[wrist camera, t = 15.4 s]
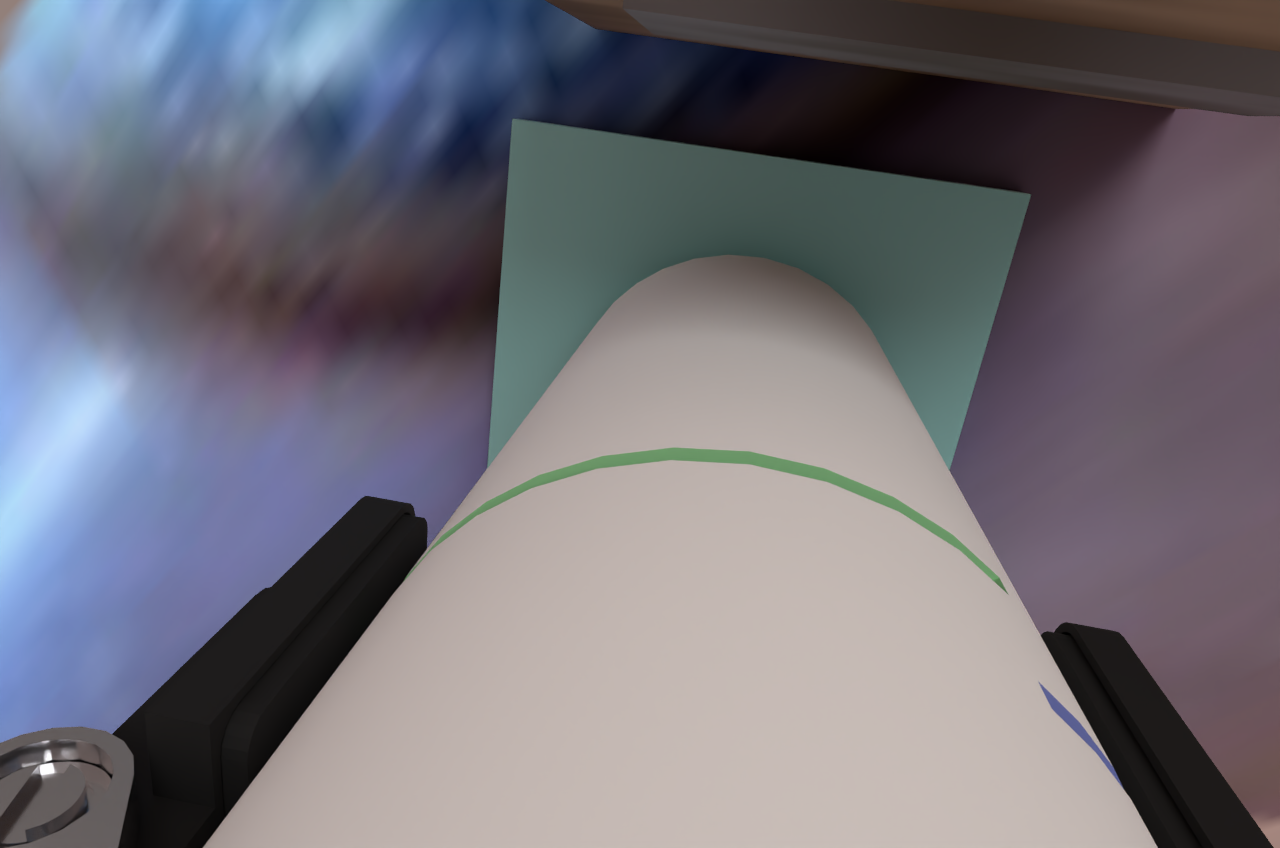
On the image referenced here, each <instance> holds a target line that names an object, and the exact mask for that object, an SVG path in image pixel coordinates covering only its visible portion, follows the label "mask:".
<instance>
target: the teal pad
mask: <svg viewBox="0 0 1280 848" xmlns="http://www.w3.org/2000/svg"><path fill="white" fill-rule="evenodd" d="M1030 197H1031V194H1028V193H1024V192H1020V191H1013V190H1006V189H999V188H992V187H985V186H978V185H972V184H965V183H958V182H951V181H944V180H937V179H930V178H923V177H917V176H910V175H903V174H896V173H889V172H882V171H875V170H869V169H862V168H855V167H848V166H841V165H834V164H827V163H821V162H814V161H807V160H800V159H793V158H786V157H779V156H773V155H766V154H759V153H752V152H745V151H738V150H731V149H724V148H718V147H711V146H704V145H697V144H690V143H683V142H676V141H670V140H663V139H656V138H649V137H642V136H635V135H628V134H622V133H615V132H608V131H601V130H594V129H587V128H580V127H574V126H567V125H560V124H553V123H546V122H539V121H532V120H525V119H512V130H511V144H510V158H509V172H508V186H507V200H506V213H505V227H504V241H503V255H502V269H501V283H500V297H499V311H498V325H497V339H496V353H495V367H494V381H493V395H492V409H491V423H490V437H489V451H488V465H487V468H488V467H489V466H490V464H491V463H492V462H493V460H494V459H495V458H496V456H497V455H498V454H499V452H500V451H501V450H502V448H503V447H504V446H505V444H506V443H507V442H508V440H509V439H510V438H511V436H512V435H513V434H514V432H515V431H516V430H517V429H518V427H519V426H520V425H521V423H522V422H523V421H524V419H525V418H526V417H527V415H528V414H529V413H530V411H531V410H532V409H533V407H534V406H535V405H536V403H537V402H538V401H539V399H540V398H541V397H542V395H543V394H544V393H545V391H546V390H547V389H548V387H549V386H550V385H551V383H552V382H553V381H554V379H555V378H556V377H557V375H558V374H559V373H560V371H561V370H562V369H563V367H564V366H565V365H566V363H567V362H568V361H569V359H570V358H571V357H572V355H573V354H574V353H575V351H576V350H577V349H578V347H579V346H580V345H581V343H582V342H583V341H584V339H585V338H586V337H587V335H588V334H589V333H590V331H591V330H592V329H593V327H594V326H595V325H596V324H597V322H598V321H599V320H600V319H601V317H602V316H603V315H604V314H605V313H606V311H607V310H608V309H609V308H610V306H611V305H612V304H613V303H614V302H615V301H616V300H617V299H618V298H620V297H621V296H622V295H623V294H624V293H626V292H627V291H628V290H629V289H630V288H632V287H633V286H634V285H635V284H636V283H638V282H640V281H642V280H644V279H645V278H647V277H649V276H651V275H653V274H655V273H656V272H658V271H660V270H662V269H664V268H667V267H670V266H673V265H676V264H679V263H682V262H685V261H689V260H692V259H695V258H704V257H713V256H721V255H738V256H749V257H761V258H766V259H770V260H773V261H776V262H779V263H783V264H786V265H789V266H792V267H796V268H799V269H800V270H802V271H804V272H806V273H808V274H809V275H811V276H813V277H815V278H817V279H818V280H820V281H822V282H824V283H826V284H827V285H829V286H830V287H831V288H832V289H834V290H835V291H836V292H837V293H838V294H839V295H841V296H842V297H843V298H844V299H845V300H846V301H847V302H849V303H850V304H851V305H852V306H853V307H854V308H855V309H856V311H857V312H858V313H859V315H860V316H861V317H862V319H863V320H864V321H865V322H866V324H867V325H868V326H869V328H870V329H871V330H872V332H873V334H874V336H875V337H876V339H877V341H878V343H879V345H880V346H881V348H882V350H883V352H884V354H885V355H886V357H887V359H888V361H889V363H890V365H891V366H892V368H893V370H894V372H895V374H896V375H897V377H898V379H899V381H900V383H901V384H902V386H903V388H904V390H905V392H906V393H907V395H908V397H909V399H910V401H911V402H912V404H913V406H914V408H915V410H916V412H917V413H918V415H919V417H920V419H921V421H922V422H923V424H924V426H925V428H926V430H927V431H928V433H929V435H930V437H931V439H932V440H933V442H934V444H935V446H936V448H937V449H938V451H939V453H940V455H941V457H942V459H943V460H944V462H945V464H946V466H947V468H948V469H949V470H950V467H951V463H952V460H953V457H954V453H955V450H956V447H957V443H958V440H959V436H960V433H961V430H962V426H963V423H964V420H965V416H966V413H967V409H968V406H969V403H970V399H971V396H972V393H973V389H974V386H975V382H976V379H977V376H978V372H979V369H980V366H981V362H982V359H983V355H984V352H985V349H986V345H987V342H988V339H989V335H990V332H991V328H992V325H993V322H994V318H995V315H996V312H997V308H998V305H999V302H1000V298H1001V295H1002V291H1003V288H1004V285H1005V281H1006V278H1007V275H1008V271H1009V268H1010V264H1011V261H1012V258H1013V254H1014V251H1015V248H1016V244H1017V241H1018V237H1019V234H1020V231H1021V227H1022V224H1023V221H1024V217H1025V214H1026V210H1027V207H1028V204H1029V200H1030Z"/></svg>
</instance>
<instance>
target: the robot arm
mask: <svg viewBox="0 0 1280 848" xmlns="http://www.w3.org/2000/svg"><path fill="white" fill-rule="evenodd" d="M426 550H427V522H426V520H425V518H421V517H416V516H415V512H414V508H413V506H412V505H411V504H409V503H404V502H398V501H393V500H387V499H382V498H376V497H371V496H365V497H363V498H362V499H360V500H359V501H358V502H357V503H356V504H355V505H354V506H353V507H352V508H351V509H350V510H349V511H348V512H347V513H346V514H345V515H344V516H343V517H342V518H341V519H340V520H339V521H338V522H337V523H336V524H335V525H334V526H333V527H332V528H331V529H330V530H329V531H328V532H327V533H326V534H325V535H324V536H323V537H322V538H321V539H320V540H319V541H318V542H317V543H316V544H315V545H314V546H313V547H312V548H310V549H309V550H308V551H307V552H306V553H305V554H304V555H303V556H302V557H301V558H300V559H299V560H298V561H297V562H296V563H295V564H294V565H293V566H292V567H291V568H290V569H289V570H288V571H287V572H286V573H285V574H284V575H283V576H282V577H281V578H280V579H279V580H278V581H277V582H276V583H275V584H274V585H273V586H272V587H270V588H265V589H263V590H262V591H261V592H259V593H258V594H257V595H255V596H254V597H253V598H252V599H251V600H250V601H249V602H248V603H247V604H246V605H245V606H244V607H243V608H242V609H241V610H240V611H239V612H238V613H237V614H236V615H235V616H234V617H233V618H232V619H230V620H229V621H228V622H227V623H226V624H225V625H224V626H223V627H222V628H221V629H220V630H219V631H218V632H217V633H216V634H215V635H214V636H213V637H212V638H211V639H210V640H209V641H208V642H207V643H206V644H205V645H204V646H203V647H202V648H201V649H200V650H199V651H198V652H196V653H195V654H194V655H193V656H192V657H191V658H190V659H189V660H188V661H187V662H186V663H185V664H184V665H183V666H182V667H181V668H180V669H179V670H178V671H177V672H176V673H175V674H174V675H173V676H172V677H171V678H170V679H169V680H168V681H167V682H166V683H165V684H163V685H162V686H161V687H160V688H159V689H158V690H157V691H156V692H155V693H154V694H153V695H152V696H151V697H150V698H149V699H148V700H147V701H146V702H145V703H144V704H143V705H142V706H141V707H140V708H139V709H138V710H137V711H136V712H135V713H134V714H133V715H132V716H130V717H129V718H128V719H127V720H126V721H125V722H124V723H123V724H122V725H121V726H120V727H119V728H118V729H117V730H116V731H115V732H114V733H113V734H110V733H108V732H107V731H102V730H97V729H91V728H86V727H65V728H51V729H46V730H42V731H37V732H32V733H28V734H23V735H20V736H17V737H15V738H12V739H10V740H7V741H4V742H2V743H0V848H203V847H204V846H205V844H206V843H207V841H208V840H209V839H210V838H211V836H212V835H213V833H214V832H215V831H216V829H217V828H218V827H219V825H220V824H221V823H222V821H223V820H224V819H225V817H226V816H227V815H228V813H229V812H230V811H231V809H232V808H233V807H234V805H235V804H236V803H237V801H238V800H239V799H240V797H241V796H242V795H243V793H244V792H245V791H246V789H247V788H248V787H249V785H250V784H251V783H252V781H253V780H254V779H255V777H256V776H257V775H258V773H259V772H260V771H261V769H262V768H263V767H264V765H265V764H266V763H267V761H268V760H269V759H270V757H271V756H272V755H273V753H274V752H275V751H276V749H277V748H278V747H279V745H280V744H281V743H282V741H283V740H284V739H285V737H286V736H287V735H288V733H289V732H290V731H291V729H292V728H293V727H294V725H295V724H296V723H297V721H298V720H299V719H300V717H301V716H302V715H303V713H304V712H305V711H306V709H307V708H308V707H309V705H310V704H311V703H312V701H313V700H314V699H315V697H316V696H317V695H318V693H319V692H320V691H321V689H322V688H323V687H324V685H325V684H326V683H327V681H328V680H329V679H330V677H331V676H332V675H333V673H334V672H335V671H336V669H337V668H338V667H339V665H340V664H341V663H342V661H343V660H344V659H345V657H346V656H347V655H348V653H349V652H350V651H351V649H352V648H353V647H354V645H355V644H356V643H357V641H358V640H359V639H360V637H361V636H362V635H363V633H364V632H365V631H366V629H367V628H368V627H369V625H370V624H371V623H372V621H373V620H374V619H375V617H376V616H377V615H378V613H379V612H380V611H381V609H382V608H383V607H384V605H385V604H386V603H387V601H388V600H389V599H390V597H391V596H392V595H393V593H394V592H395V591H396V590H397V589H398V588H399V586H400V585H401V584H402V583H403V581H404V580H405V578H406V576H407V575H408V573H409V572H410V571H411V569H412V568H413V567H414V565H415V564H416V563H417V561H418V560H419V559H420V558H421V556H422V555H423V554H424V552H425V551H426ZM1041 638H1042V639H1043V641H1044V643H1045V645H1046V647H1047V648H1048V650H1049V652H1050V654H1051V656H1052V657H1053V659H1054V661H1055V663H1056V665H1057V666H1058V668H1059V670H1060V672H1061V674H1062V675H1063V677H1064V679H1065V681H1066V683H1067V685H1068V686H1069V688H1070V690H1071V692H1072V694H1073V695H1074V697H1075V699H1076V701H1077V703H1078V704H1079V706H1080V708H1081V710H1082V712H1083V713H1084V715H1085V717H1086V719H1087V721H1088V722H1089V724H1090V726H1091V728H1092V730H1093V732H1094V733H1095V735H1096V737H1097V739H1098V741H1099V742H1100V744H1101V746H1102V748H1103V750H1104V751H1105V753H1106V755H1107V757H1108V759H1109V760H1110V762H1111V764H1112V766H1113V768H1114V770H1115V772H1116V774H1117V776H1118V778H1119V780H1120V782H1121V784H1122V786H1123V788H1124V791H1125V792H1126V793H1127V795H1128V796H1129V797H1130V799H1131V800H1132V802H1133V804H1134V806H1135V807H1136V809H1137V811H1138V813H1139V815H1140V816H1141V818H1142V820H1143V822H1144V824H1145V826H1146V827H1147V829H1148V831H1149V833H1150V835H1151V836H1152V838H1153V840H1154V842H1155V844H1156V845H1157V847H1158V848H1273V846H1272V845H1271V843H1270V842H1269V841H1268V839H1267V838H1266V836H1265V835H1264V834H1263V832H1262V831H1261V829H1260V828H1259V827H1258V825H1257V824H1256V822H1255V821H1254V820H1253V818H1252V817H1251V815H1250V814H1249V812H1248V811H1247V810H1246V808H1245V807H1244V805H1243V804H1242V803H1241V801H1240V800H1239V798H1238V797H1237V796H1236V794H1235V793H1234V791H1233V790H1232V789H1231V787H1230V786H1229V784H1228V783H1227V782H1226V780H1225V779H1224V777H1223V776H1222V775H1221V773H1220V772H1219V770H1218V769H1217V768H1216V766H1215V765H1214V763H1213V762H1212V761H1211V759H1210V758H1209V756H1208V755H1207V754H1206V752H1205V751H1204V749H1203V748H1202V746H1201V745H1200V744H1199V742H1198V741H1197V739H1196V738H1195V737H1194V735H1193V734H1192V732H1191V731H1190V730H1189V728H1188V727H1187V725H1186V724H1185V723H1184V721H1183V720H1182V718H1181V717H1180V716H1179V714H1178V713H1177V711H1176V710H1175V709H1174V707H1173V706H1172V704H1171V703H1170V702H1169V700H1168V699H1167V697H1166V696H1165V695H1164V693H1163V692H1162V690H1161V689H1160V688H1159V686H1158V685H1157V683H1156V682H1155V680H1154V679H1153V678H1152V676H1151V675H1150V673H1149V672H1148V671H1147V669H1146V668H1145V666H1144V665H1143V664H1142V662H1141V661H1140V659H1139V658H1138V657H1137V655H1136V654H1135V652H1134V651H1133V650H1132V648H1131V647H1130V645H1129V644H1128V643H1127V641H1126V640H1125V638H1124V637H1123V636H1122V635H1121V634H1120V633H1119V632H1115V631H1111V630H1106V629H1100V628H1095V627H1089V626H1084V625H1078V624H1073V623H1067V622H1065V623H1063V624H1061V625H1060V626H1059V627H1058V628H1057V629H1056V630H1055V632H1054V633H1053V632H1048V631H1047V632H1044V633H1043V634H1042V635H1041Z"/></svg>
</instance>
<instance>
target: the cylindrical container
mask: <svg viewBox="0 0 1280 848" xmlns="http://www.w3.org/2000/svg"><path fill="white" fill-rule="evenodd" d="M203 848H1158V847H1157V845H1156V844H1155V842H1154V840H1153V838H1152V836H1151V835H1150V833H1149V831H1148V829H1147V827H1146V826H1145V824H1144V822H1143V820H1142V818H1141V816H1140V815H1139V813H1138V811H1137V809H1136V807H1135V806H1134V804H1133V802H1132V800H1131V799H1130V797H1129V796H1128V795H1127V793H1126V792H1125V791H1124V788H1123V786H1122V784H1121V782H1120V780H1119V778H1118V776H1117V774H1116V772H1115V770H1114V768H1113V766H1112V764H1111V762H1110V760H1109V759H1108V757H1107V755H1106V753H1105V751H1104V750H1103V748H1102V746H1101V744H1100V742H1099V741H1098V739H1097V737H1096V735H1095V733H1094V732H1093V730H1092V728H1091V726H1090V724H1089V722H1088V721H1087V719H1086V717H1085V715H1084V713H1083V712H1082V710H1081V708H1080V706H1079V704H1078V703H1077V701H1076V699H1075V697H1074V695H1073V694H1072V692H1071V690H1070V688H1069V686H1068V685H1067V683H1066V681H1065V679H1064V677H1063V675H1062V674H1061V672H1060V670H1059V668H1058V666H1057V665H1056V663H1055V661H1054V659H1053V657H1052V656H1051V654H1050V652H1049V650H1048V648H1047V647H1046V645H1045V643H1044V641H1043V639H1042V638H1041V636H1040V634H1039V632H1038V630H1037V628H1036V627H1035V625H1034V623H1033V621H1032V619H1031V618H1030V616H1029V614H1028V612H1027V610H1026V609H1025V607H1024V605H1023V603H1022V601H1021V600H1020V598H1019V596H1018V594H1017V592H1016V591H1015V589H1014V587H1013V585H1012V583H1011V581H1010V580H1009V578H1008V576H1007V574H1006V572H1005V571H1004V569H1003V567H1002V565H1001V563H1000V562H999V560H998V558H997V556H996V554H995V553H994V551H993V549H992V547H991V545H990V544H989V542H988V540H987V538H986V536H985V534H984V533H983V531H982V529H981V527H980V525H979V524H978V522H977V520H976V518H975V516H974V515H973V513H972V511H971V509H970V507H969V506H968V504H967V502H966V500H965V498H964V496H963V495H962V493H961V491H960V489H959V487H958V486H957V484H956V482H955V480H954V478H953V477H952V475H951V473H950V471H949V469H948V468H947V466H946V464H945V462H944V460H943V459H942V457H941V455H940V453H939V451H938V449H937V448H936V446H935V444H934V442H933V440H932V439H931V437H930V435H929V433H928V431H927V430H926V428H925V426H924V424H923V422H922V421H921V419H920V417H919V415H918V413H917V412H916V410H915V408H914V406H913V404H912V402H911V401H910V399H909V397H908V395H907V393H906V392H905V390H904V388H903V386H902V384H901V383H900V381H899V379H898V377H897V375H896V374H895V372H894V370H893V368H892V366H891V365H890V363H889V361H888V359H887V357H886V355H885V354H884V352H883V350H882V348H881V346H880V345H879V343H878V341H877V339H876V337H875V336H874V334H873V332H872V330H871V329H870V328H869V326H868V325H867V324H866V322H865V321H864V320H863V319H862V317H861V316H860V315H859V313H858V312H857V311H856V309H855V308H854V307H853V306H852V305H851V304H850V303H849V302H847V301H846V300H845V299H844V298H843V297H842V296H841V295H839V294H838V293H837V292H836V291H835V290H834V289H832V288H831V287H830V286H829V285H827V284H826V283H824V282H822V281H820V280H818V279H817V278H815V277H813V276H811V275H809V274H808V273H806V272H804V271H802V270H800V269H799V268H796V267H792V266H789V265H786V264H783V263H779V262H776V261H773V260H770V259H766V258H761V257H749V256H738V255H721V256H713V257H704V258H695V259H692V260H689V261H685V262H682V263H679V264H676V265H673V266H670V267H667V268H664V269H662V270H660V271H658V272H656V273H655V274H653V275H651V276H649V277H647V278H645V279H644V280H642V281H640V282H638V283H636V284H635V285H634V286H633V287H632V288H630V289H629V290H628V291H627V292H626V293H624V294H623V295H622V296H621V297H620V298H618V299H617V300H616V301H615V302H614V303H613V304H612V305H611V306H610V308H609V309H608V310H607V311H606V313H605V314H604V315H603V316H602V317H601V319H600V320H599V321H598V322H597V324H596V325H595V326H594V327H593V329H592V330H591V331H590V333H589V334H588V335H587V337H586V338H585V339H584V341H583V342H582V343H581V345H580V346H579V347H578V349H577V350H576V351H575V353H574V354H573V355H572V357H571V358H570V359H569V361H568V362H567V363H566V365H565V366H564V367H563V369H562V370H561V371H560V373H559V374H558V375H557V377H556V378H555V379H554V381H553V382H552V383H551V385H550V386H549V387H548V389H547V390H546V391H545V393H544V394H543V395H542V397H541V398H540V399H539V401H538V402H537V403H536V405H535V406H534V407H533V409H532V410H531V411H530V413H529V414H528V415H527V417H526V418H525V419H524V421H523V422H522V423H521V425H520V426H519V427H518V429H517V430H516V431H515V432H514V434H513V435H512V436H511V438H510V439H509V440H508V442H507V443H506V444H505V446H504V447H503V448H502V450H501V451H500V452H499V454H498V455H497V456H496V458H495V459H494V460H493V462H492V463H491V464H490V466H489V467H488V468H487V470H486V471H485V472H484V474H483V475H482V476H481V478H480V479H479V480H478V482H477V483H476V484H475V486H474V487H473V488H472V490H471V491H470V492H469V494H468V495H467V496H466V498H465V499H464V500H463V502H462V503H461V504H460V506H459V507H458V508H457V510H456V511H455V512H454V514H453V515H452V516H451V518H450V519H449V520H448V522H447V523H446V524H445V526H444V527H443V528H442V530H441V531H440V532H439V534H438V535H437V536H436V538H435V539H434V540H433V542H432V543H431V544H430V546H429V547H428V548H427V550H426V551H425V552H424V554H423V555H422V556H421V558H420V559H419V560H418V561H417V563H416V564H415V565H414V567H413V568H412V569H411V571H410V572H409V573H408V575H407V576H406V578H405V580H404V581H403V583H402V584H401V585H400V586H399V588H398V589H397V590H396V591H395V592H394V593H393V595H392V596H391V597H390V599H389V600H388V601H387V603H386V604H385V605H384V607H383V608H382V609H381V611H380V612H379V613H378V615H377V616H376V617H375V619H374V620H373V621H372V623H371V624H370V625H369V627H368V628H367V629H366V631H365V632H364V633H363V635H362V636H361V637H360V639H359V640H358V641H357V643H356V644H355V645H354V647H353V648H352V649H351V651H350V652H349V653H348V655H347V656H346V657H345V659H344V660H343V661H342V663H341V664H340V665H339V667H338V668H337V669H336V671H335V672H334V673H333V675H332V676H331V677H330V679H329V680H328V681H327V683H326V684H325V685H324V687H323V688H322V689H321V691H320V692H319V693H318V695H317V696H316V697H315V699H314V700H313V701H312V703H311V704H310V705H309V707H308V708H307V709H306V711H305V712H304V713H303V715H302V716H301V717H300V719H299V720H298V721H297V723H296V724H295V725H294V727H293V728H292V729H291V731H290V732H289V733H288V735H287V736H286V737H285V739H284V740H283V741H282V743H281V744H280V745H279V747H278V748H277V749H276V751H275V752H274V753H273V755H272V756H271V757H270V759H269V760H268V761H267V763H266V764H265V765H264V767H263V768H262V769H261V771H260V772H259V773H258V775H257V776H256V777H255V779H254V780H253V781H252V783H251V784H250V785H249V787H248V788H247V789H246V791H245V792H244V793H243V795H242V796H241V797H240V799H239V800H238V801H237V803H236V804H235V805H234V807H233V808H232V809H231V811H230V812H229V813H228V815H227V816H226V817H225V819H224V820H223V821H222V823H221V824H220V825H219V827H218V828H217V829H216V831H215V832H214V833H213V835H212V836H211V838H210V839H209V840H208V841H207V843H206V844H205V846H204V847H203Z"/></svg>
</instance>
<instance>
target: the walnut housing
mask: <svg viewBox="0 0 1280 848" xmlns="http://www.w3.org/2000/svg"><path fill="white" fill-rule="evenodd" d="M545 1H547V2H549V3H551V4H553V5H554V6H556V7H558V8H560V9H561V10H563V11H565V12H567V13H568V14H570V15H572V16H574V17H576V18H577V19H579V20H581V21H583V22H584V23H586V24H588V25H590V26H591V27H593V28H595V29H600V30H607V31H614V32H621V33H629V34H636V35H643V36H651V37H658V38H665V39H672V40H680V41H687V42H694V43H702V44H709V45H716V46H723V47H731V48H738V49H745V50H752V51H760V52H767V53H774V54H782V55H789V56H796V57H803V58H811V59H818V60H825V61H833V62H840V63H847V64H854V65H862V66H869V67H876V68H884V69H891V70H898V71H905V72H913V73H920V74H927V75H934V76H942V77H949V78H956V79H964V80H971V81H978V82H985V83H993V84H1000V85H1007V86H1015V87H1022V88H1029V89H1036V90H1044V91H1051V92H1058V93H1066V94H1073V95H1080V96H1087V97H1095V98H1102V99H1109V100H1116V101H1124V102H1131V103H1138V104H1146V105H1153V106H1160V107H1167V108H1175V109H1201V110H1208V111H1215V112H1223V113H1230V114H1237V115H1245V116H1280V0H545Z"/></svg>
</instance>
